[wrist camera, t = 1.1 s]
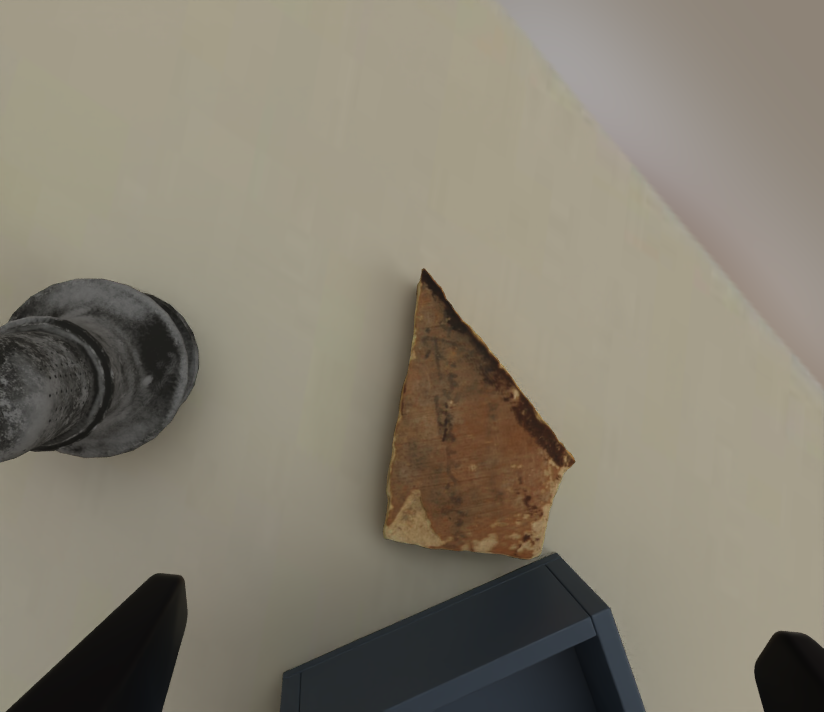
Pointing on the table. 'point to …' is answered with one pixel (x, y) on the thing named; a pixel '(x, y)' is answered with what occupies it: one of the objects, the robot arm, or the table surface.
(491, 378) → the shard
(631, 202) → the table surface
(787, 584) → the table surface
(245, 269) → the table surface
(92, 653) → the robot arm
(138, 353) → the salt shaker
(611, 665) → the bin
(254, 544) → the table surface
